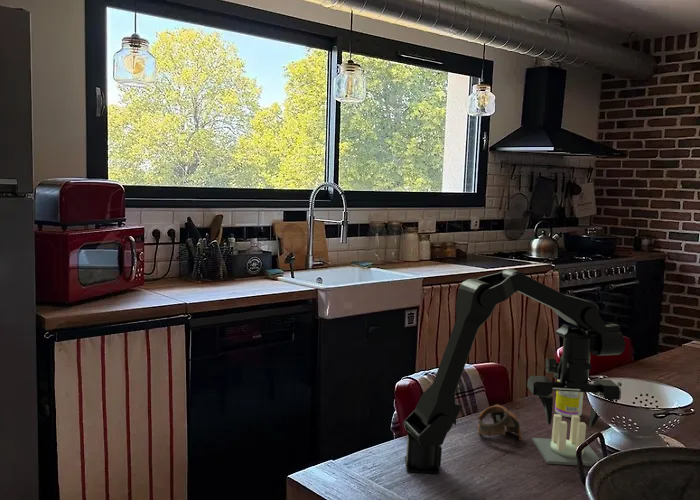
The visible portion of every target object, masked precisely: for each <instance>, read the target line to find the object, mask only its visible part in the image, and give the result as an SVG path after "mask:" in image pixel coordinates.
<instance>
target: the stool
mask: <svg viewBox="0 0 700 500" xmlns="http://www.w3.org/2000/svg"><path fill="white" fill-rule="evenodd" d="M570 418H571V417H570ZM552 419H553V420H552V432H551V439H552V441H551V446H550V449H551V450H552V451H553V452H554V453H556V454H558V455H561V456H565V457H571V458H576V449H577V447H578V446H579V445H580V444H581V443H583V442H584V441H586V431H587V424H586V423H585V422H584V421H581V417H580V416H578V415H572V418H571V421H570V429H569V432H570V433H569V439H567V434H568V422H567V421H566V420H563V416H562V415H560V414H558V413H554V414H553V417H552ZM583 455H584V449H583V450H582V456H583Z"/></svg>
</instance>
